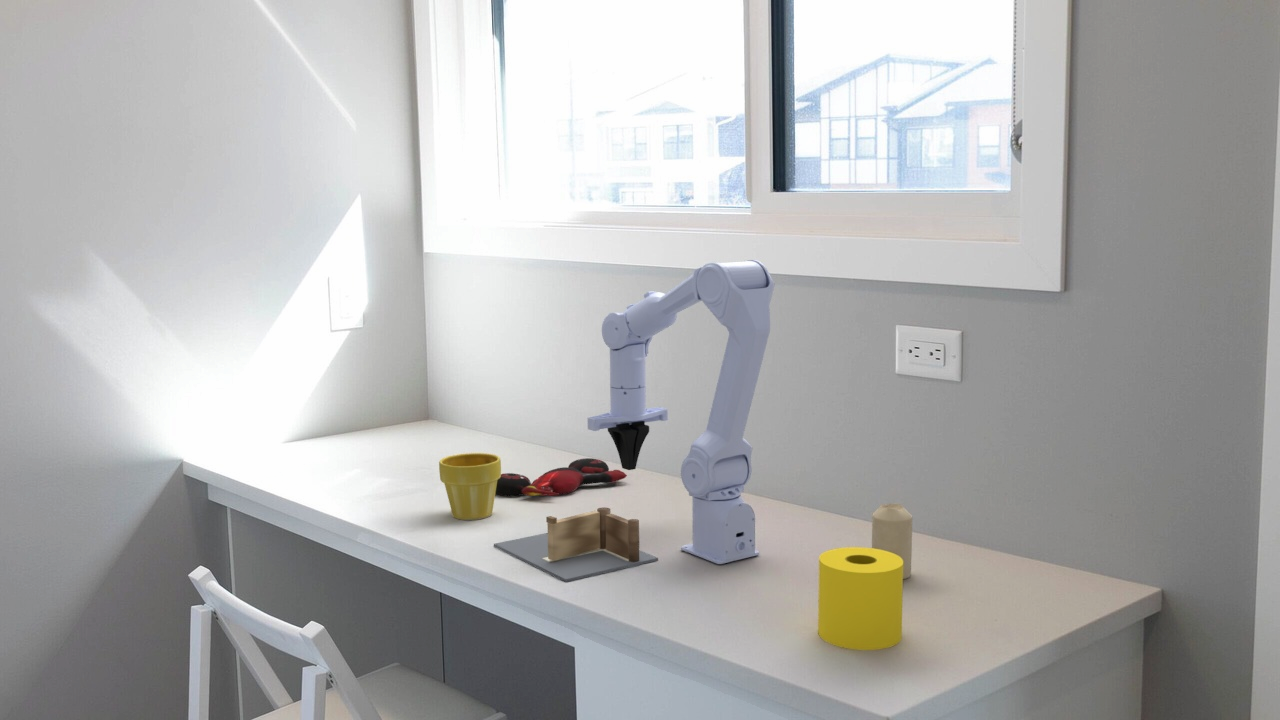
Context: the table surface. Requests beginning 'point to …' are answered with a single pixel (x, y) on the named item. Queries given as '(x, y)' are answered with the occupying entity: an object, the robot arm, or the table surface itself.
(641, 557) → the card
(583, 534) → the fence panel
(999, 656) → the table surface
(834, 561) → the yellow toilet paper roll
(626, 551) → the fence fixed section
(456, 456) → the plant pot
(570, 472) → the toy motorcycle
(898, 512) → the beige can
